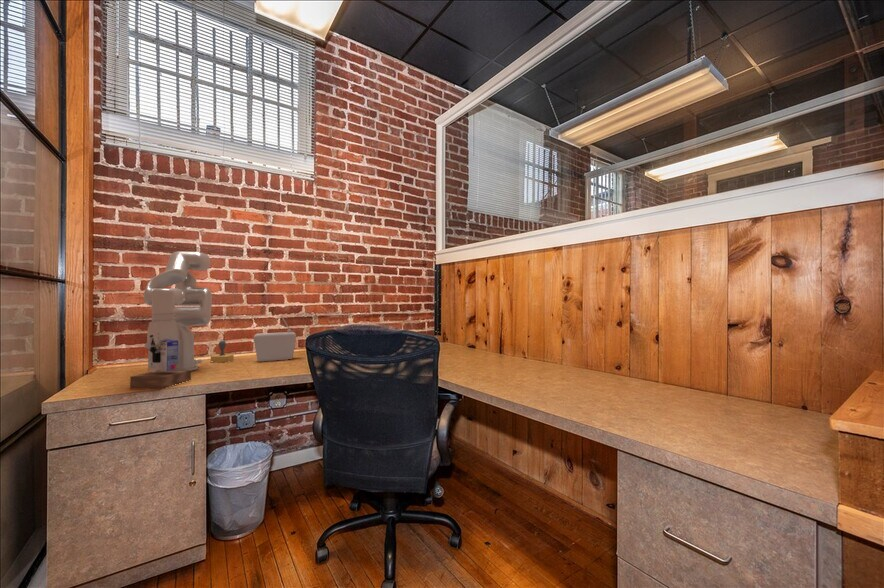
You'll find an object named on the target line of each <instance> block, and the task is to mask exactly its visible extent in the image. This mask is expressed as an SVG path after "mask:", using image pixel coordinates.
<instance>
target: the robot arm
mask: <svg viewBox="0 0 884 588" xmlns="http://www.w3.org/2000/svg"><path fill="white" fill-rule="evenodd" d="M211 263H212V261H211V257H210V256H209V255H208V254H206V253H204V252H201V251H200V252H199V251H186V250H185V251H184V250H183V251H182V250H181V251H180V250H179V251H178V250H177V251H175V252H172V253H171V254H170V255H169V257H168V260H167V264H166V265H165V269H164V271H162V272H160V273H159V274H157V275H155V276H153V277H152V278H151V279H149V280H148V282H147V284H146V286H145V288H144V291H143V302H144V304H145V305H147V306H151V321H149V323H148V327H147V336H146V343H145V344H144V348H145V349H147V350H149V351H151V353H152V362H153V363H159V362H160V353H159V350H160V346H161V345H162V342H163V341H170V340H178V369H174V370H191V372H193V371H195V370H197V369H199V366H198V364H202V362H203V360H202V359H201V358H200V359H195V333H194V332H193V330H192V329H191V328H190V327H191V326H207V325H208V324H210V322H211V319H212V317H211V316H212V305H213V304H212V303H213V294H212V291H211V289H210V288H208V287H203V286H201V287H200V286H199V287H197V279H196V277H195V276H194V275H193V274H192V273H191V272H189V271H207V270H209V269H210V267H211ZM173 285H175V287H174V288H168V287H170V286H173ZM166 287H167V288H166ZM152 343H153V344H152ZM155 348H156V349H155Z"/></svg>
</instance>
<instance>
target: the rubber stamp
mask: <svg viewBox="0 0 884 588" xmlns="http://www.w3.org/2000/svg"><path fill="white" fill-rule="evenodd" d="M226 346H227V342H226V341H225V340H223V339H222V340H220V341H219V342H218V347H219V350H220V354H219V353H218V354H214V355H210V362H211V361H213V362H212V363H225V362H227V363H229V362H228V361H231V362H233V361H232V360H234V358H235V357H234V354H231V353H230V354H229V353H227V354H226V353H225V348H226ZM234 361H235V360H234Z"/></svg>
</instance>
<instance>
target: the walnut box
mask: <svg viewBox="0 0 884 588" xmlns="http://www.w3.org/2000/svg"><path fill="white" fill-rule="evenodd" d="M191 376H192V371H191V370H170V371H155V370H152V371H149V372H146V373H141V374H136V375H133V376H130V380H129V383H130V384H129V385H130V387H129V388H130V389H133V388H149V389H148V390H164V389H167V388H166V387H168V388H170V387H169V386H171V387H173V386H172V385H174V386H176V385H175V384H178V385H180V384H179V383H181V384H183V383H182V382H185V383H187V382H186V381H188V382H190V381H189V380H191V381H192V379H191V378H192V377H191ZM163 388H164V389H163Z"/></svg>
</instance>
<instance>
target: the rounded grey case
mask: <svg viewBox="0 0 884 588" xmlns="http://www.w3.org/2000/svg"><path fill="white" fill-rule="evenodd" d="M281 319H282V321H283V322H284V324H285V325H284V324H282V323H280V325H281V326H285V327H286V328H288V329H287V330H286V331H287V332H286V331H285V332H283V331H282V332H269V333H268V332H264V333H262V332H261V333H260V331H261V330H263V329H264V328H267V327H269V326H272V325H274V323H271V324H268V325H267V326H264V327H262V328H261V329H260V330H259V331H258V332H257V333H255V334H254V335H253V341H254V347H255V353H256V359H257V362H259V363H263V362H264V361H266V362H277V360H279V361H288V359H291V360H293V358H294V353H295V347H296V341H297V334H296V333H295V332H294V331H293V330H292V329H290V326H288V323H287V322H286V320H285V318H284V317H283V316H281Z"/></svg>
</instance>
